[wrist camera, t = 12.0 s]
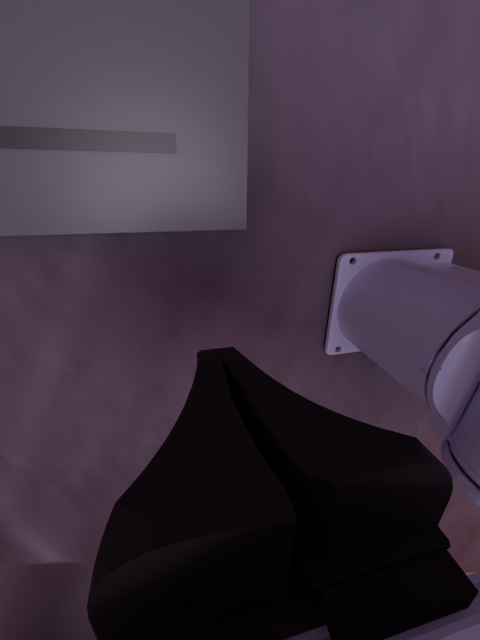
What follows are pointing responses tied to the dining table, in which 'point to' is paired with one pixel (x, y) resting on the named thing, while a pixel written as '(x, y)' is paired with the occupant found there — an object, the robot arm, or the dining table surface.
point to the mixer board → (123, 116)
